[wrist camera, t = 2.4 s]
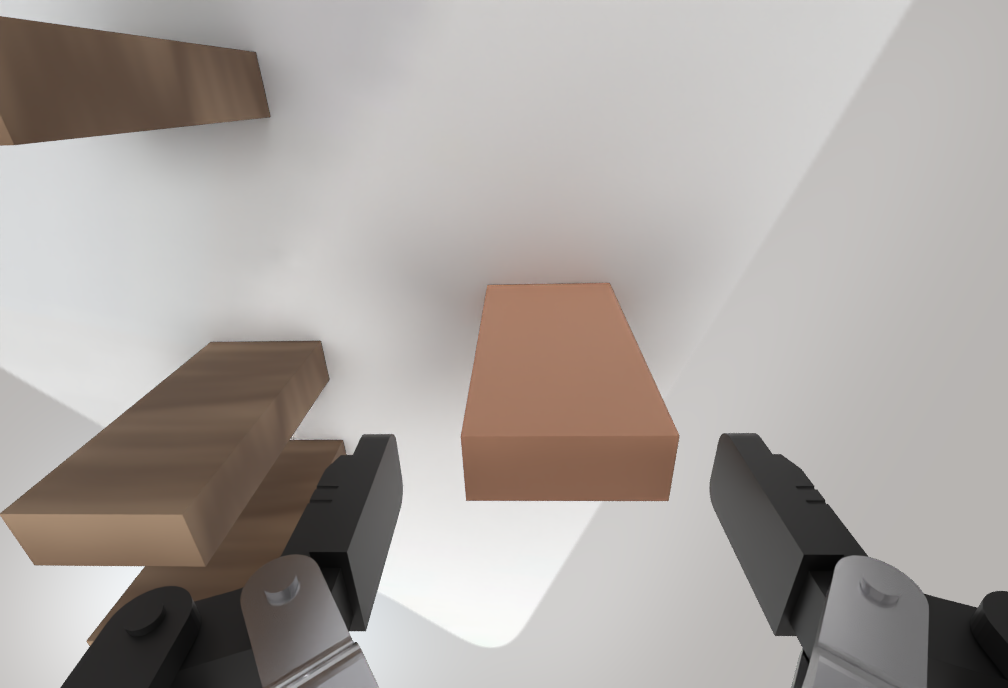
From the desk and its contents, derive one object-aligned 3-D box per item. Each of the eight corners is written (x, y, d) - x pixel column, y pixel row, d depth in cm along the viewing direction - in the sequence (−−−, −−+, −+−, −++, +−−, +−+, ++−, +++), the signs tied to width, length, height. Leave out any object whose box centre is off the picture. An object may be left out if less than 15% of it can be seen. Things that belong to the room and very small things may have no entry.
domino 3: (243, 440, 24) (86, 641, 16) (342, 440, 24) (240, 643, 15) (254, 471, 25) (111, 677, 17) (349, 471, 25) (256, 679, 16)
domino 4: (487, 284, 20) (460, 436, 11) (609, 283, 20) (679, 435, 11) (489, 328, 21) (466, 500, 12) (606, 327, 21) (668, 500, 12)
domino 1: (113, 57, 17) (-341, 21, 8) (255, 52, 17) (-48, 9, 8) (135, 121, 18) (-251, 152, 9) (270, 117, 18) (14, 144, 9)
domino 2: (210, 341, 22) (-1, 514, 13) (320, 340, 22) (182, 514, 13) (223, 380, 23) (34, 565, 14) (329, 379, 23) (205, 566, 14)
